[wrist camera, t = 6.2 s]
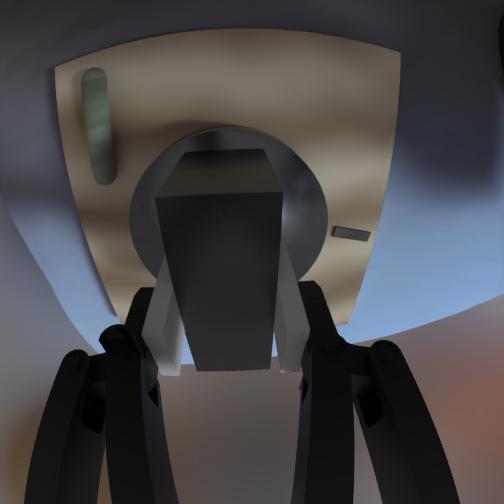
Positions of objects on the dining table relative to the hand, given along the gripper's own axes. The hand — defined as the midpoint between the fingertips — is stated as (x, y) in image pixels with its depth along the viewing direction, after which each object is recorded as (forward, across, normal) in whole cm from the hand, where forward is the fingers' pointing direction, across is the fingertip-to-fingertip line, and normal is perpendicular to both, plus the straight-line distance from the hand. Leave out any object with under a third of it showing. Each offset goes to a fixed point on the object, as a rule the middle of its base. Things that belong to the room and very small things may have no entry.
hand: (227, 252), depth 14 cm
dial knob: (+4, 0, -1) cm, 4 cm away
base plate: (+6, 0, 0) cm, 6 cm away
